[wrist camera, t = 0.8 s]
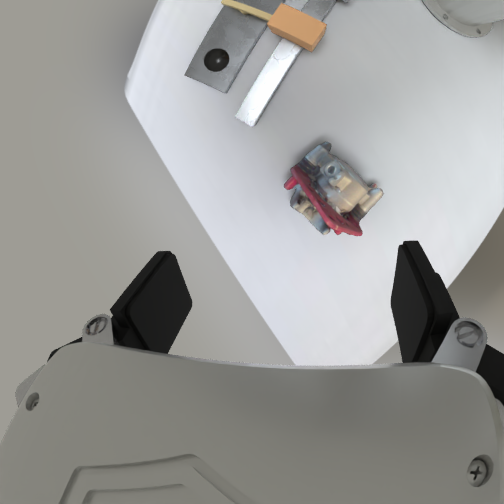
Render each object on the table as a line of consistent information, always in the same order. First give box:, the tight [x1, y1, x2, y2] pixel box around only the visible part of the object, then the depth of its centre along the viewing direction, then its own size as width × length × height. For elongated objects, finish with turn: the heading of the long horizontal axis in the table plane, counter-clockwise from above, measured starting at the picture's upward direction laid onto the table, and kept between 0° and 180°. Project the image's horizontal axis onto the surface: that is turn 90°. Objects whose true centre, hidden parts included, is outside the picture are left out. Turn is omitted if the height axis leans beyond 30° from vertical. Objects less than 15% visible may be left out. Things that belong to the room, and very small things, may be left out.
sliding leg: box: [221, 0, 327, 52], centre depth 21 cm, size 3×12×5 cm, turn 61°
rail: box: [235, 0, 337, 127], centre depth 24 cm, size 24×2×2 cm, turn 151°
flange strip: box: [185, 0, 285, 93], centre depth 23 cm, size 23×6×1 cm, turn 151°
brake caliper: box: [284, 142, 383, 236], centre depth 30 cm, size 11×11×12 cm
